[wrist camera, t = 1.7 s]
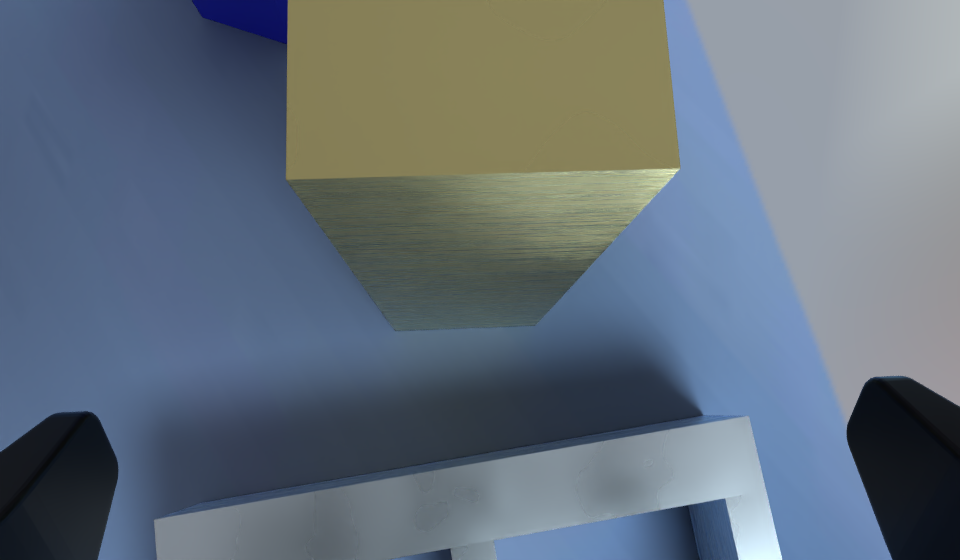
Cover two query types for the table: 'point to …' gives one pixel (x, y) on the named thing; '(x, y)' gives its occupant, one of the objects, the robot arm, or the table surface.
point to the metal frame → (499, 500)
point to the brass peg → (476, 145)
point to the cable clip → (249, 15)
